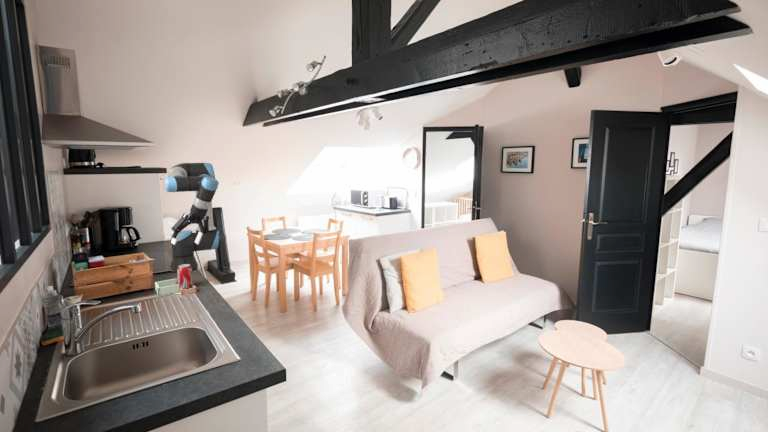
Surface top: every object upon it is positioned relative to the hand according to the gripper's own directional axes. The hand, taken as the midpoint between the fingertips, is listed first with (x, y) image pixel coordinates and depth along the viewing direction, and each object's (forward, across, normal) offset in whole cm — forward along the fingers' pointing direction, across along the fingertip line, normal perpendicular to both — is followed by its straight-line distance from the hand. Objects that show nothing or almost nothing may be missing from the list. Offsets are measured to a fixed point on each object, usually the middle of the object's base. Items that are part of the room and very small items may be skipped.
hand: (185, 243), depth 195 cm
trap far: (+26, +11, +3) cm, 28 cm away
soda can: (+24, +7, -5) cm, 25 cm away
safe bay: (+27, 0, -2) cm, 27 cm away
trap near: (+22, +2, -13) cm, 25 cm away
